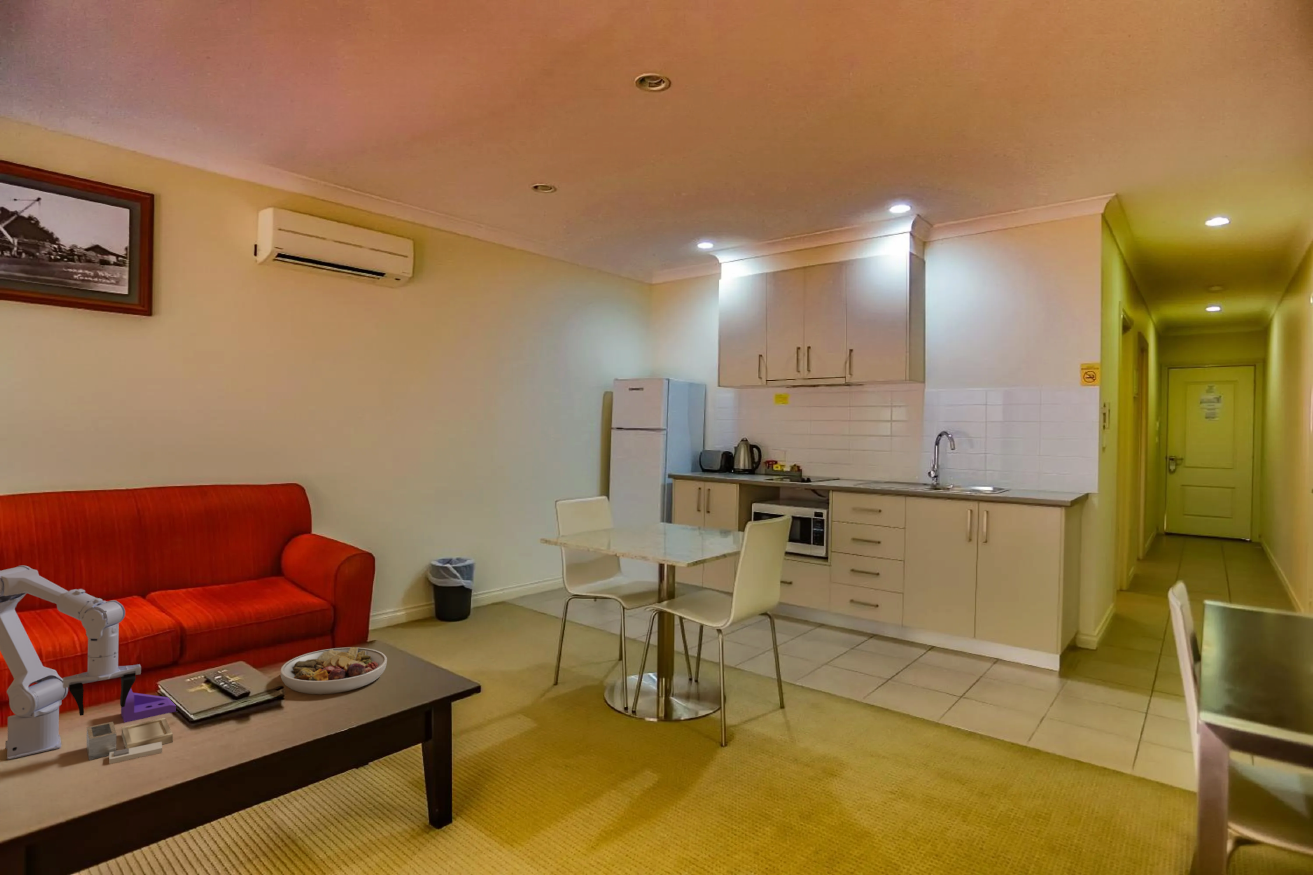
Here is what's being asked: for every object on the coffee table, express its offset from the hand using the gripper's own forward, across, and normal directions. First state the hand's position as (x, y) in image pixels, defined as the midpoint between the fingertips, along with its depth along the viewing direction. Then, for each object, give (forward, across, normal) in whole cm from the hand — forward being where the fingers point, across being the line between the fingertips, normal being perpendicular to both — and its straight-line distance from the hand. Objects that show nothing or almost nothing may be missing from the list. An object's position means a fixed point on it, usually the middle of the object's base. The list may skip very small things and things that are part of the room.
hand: (102, 709), depth 166 cm
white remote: (+10, +6, -8) cm, 14 cm away
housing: (+10, 0, 0) cm, 10 cm away
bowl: (+10, +58, +14) cm, 60 cm away
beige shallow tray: (+10, +9, +1) cm, 13 cm away
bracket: (+10, +12, +18) cm, 24 cm away
